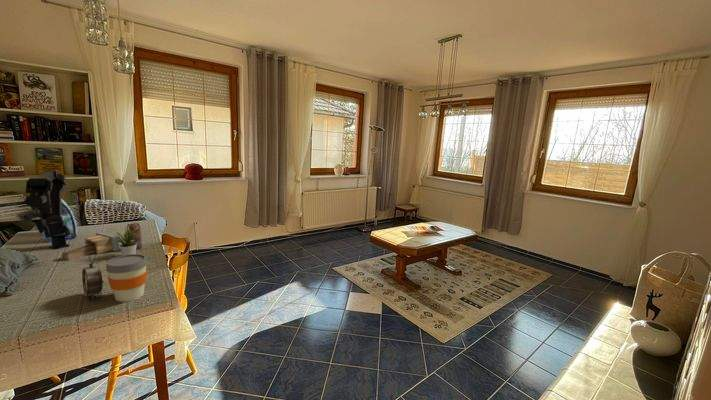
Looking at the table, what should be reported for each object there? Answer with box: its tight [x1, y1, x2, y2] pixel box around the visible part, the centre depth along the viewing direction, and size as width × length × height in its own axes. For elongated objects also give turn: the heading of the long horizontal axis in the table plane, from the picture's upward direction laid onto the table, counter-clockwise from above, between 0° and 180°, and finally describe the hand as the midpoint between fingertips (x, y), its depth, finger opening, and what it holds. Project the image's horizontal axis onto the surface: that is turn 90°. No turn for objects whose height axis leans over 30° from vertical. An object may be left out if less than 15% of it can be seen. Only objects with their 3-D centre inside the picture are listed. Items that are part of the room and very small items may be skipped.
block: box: [84, 234, 112, 255], centre depth 157 cm, size 11×6×7 cm, turn 69°
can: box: [125, 222, 143, 251], centre depth 163 cm, size 6×6×14 cm
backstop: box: [95, 231, 120, 252], centre depth 161 cm, size 16×2×8 cm, turn 69°
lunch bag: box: [41, 192, 79, 243], centre depth 174 cm, size 22×17×26 cm
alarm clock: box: [81, 256, 104, 302], centre depth 112 cm, size 11×5×16 cm, turn 49°
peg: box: [61, 243, 96, 261], centre depth 151 cm, size 4×15×4 cm, turn 168°
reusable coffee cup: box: [105, 253, 148, 302], centre depth 113 cm, size 13×13×15 cm
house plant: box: [112, 226, 143, 256], centre depth 152 cm, size 14×14×16 cm
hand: (46, 234), depth 145 cm, fingers open, 9 cm apart
